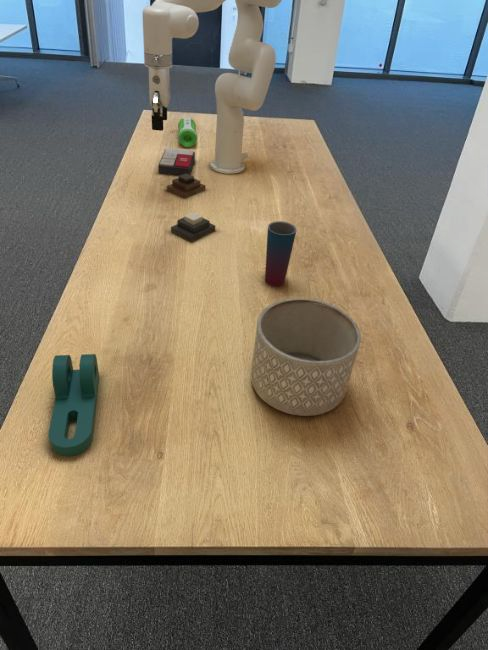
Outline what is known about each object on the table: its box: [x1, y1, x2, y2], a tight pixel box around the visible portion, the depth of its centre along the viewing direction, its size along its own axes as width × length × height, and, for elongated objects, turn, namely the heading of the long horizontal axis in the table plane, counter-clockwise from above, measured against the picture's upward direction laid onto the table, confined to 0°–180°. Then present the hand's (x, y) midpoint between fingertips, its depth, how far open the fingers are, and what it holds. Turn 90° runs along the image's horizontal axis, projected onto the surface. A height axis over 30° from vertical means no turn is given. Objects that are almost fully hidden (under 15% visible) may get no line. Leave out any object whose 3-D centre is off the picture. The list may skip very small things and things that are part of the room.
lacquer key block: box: [170, 216, 216, 243], centre depth 143 cm, size 10×8×4 cm
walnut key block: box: [166, 177, 206, 199], centre depth 165 cm, size 10×8×4 cm
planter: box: [250, 297, 362, 417], centre depth 94 cm, size 19×19×14 cm
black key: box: [178, 174, 195, 184], centre depth 164 cm, size 4×4×2 cm
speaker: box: [177, 116, 198, 148], centre depth 201 cm, size 18×7×8 cm, turn 6°
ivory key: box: [184, 211, 204, 225], centre depth 142 cm, size 4×4×2 cm
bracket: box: [48, 353, 100, 457], centre depth 86 cm, size 18×7×8 cm, turn 8°
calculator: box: [157, 148, 196, 177], centre depth 180 cm, size 11×4×15 cm
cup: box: [264, 220, 297, 287], centre depth 123 cm, size 7×7×15 cm
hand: (159, 124), depth 147 cm, fingers open, 9 cm apart
